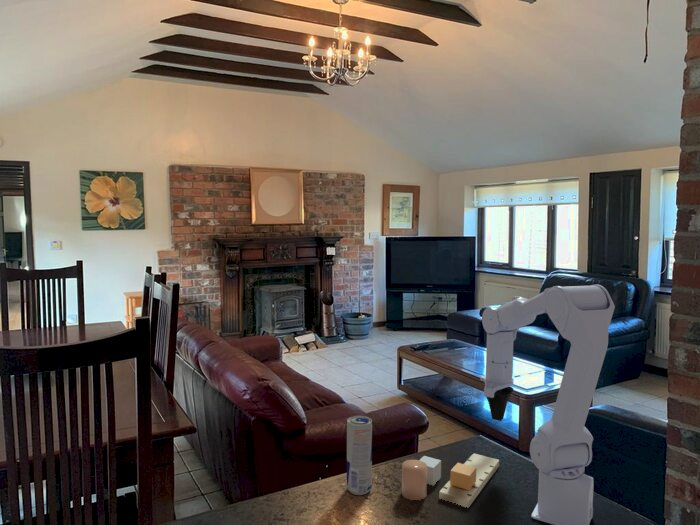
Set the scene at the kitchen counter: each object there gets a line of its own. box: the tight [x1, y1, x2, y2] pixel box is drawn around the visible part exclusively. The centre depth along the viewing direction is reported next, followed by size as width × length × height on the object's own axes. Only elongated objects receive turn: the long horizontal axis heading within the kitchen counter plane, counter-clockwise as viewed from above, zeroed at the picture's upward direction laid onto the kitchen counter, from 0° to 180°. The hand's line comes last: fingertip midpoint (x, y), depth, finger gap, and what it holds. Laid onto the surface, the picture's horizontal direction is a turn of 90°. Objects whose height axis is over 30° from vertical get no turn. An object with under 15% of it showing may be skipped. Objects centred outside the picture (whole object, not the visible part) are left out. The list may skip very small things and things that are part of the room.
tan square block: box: [449, 462, 476, 490], centre depth 105 cm, size 4×4×3 cm
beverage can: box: [346, 415, 373, 496], centre depth 105 cm, size 5×5×15 cm
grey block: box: [419, 455, 442, 487], centre depth 111 cm, size 4×4×4 cm
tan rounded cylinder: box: [401, 459, 428, 501], centre depth 105 cm, size 5×5×6 cm
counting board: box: [438, 453, 500, 509], centre depth 110 cm, size 6×20×2 cm, turn 147°
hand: (497, 419), depth 117 cm, fingers closed
